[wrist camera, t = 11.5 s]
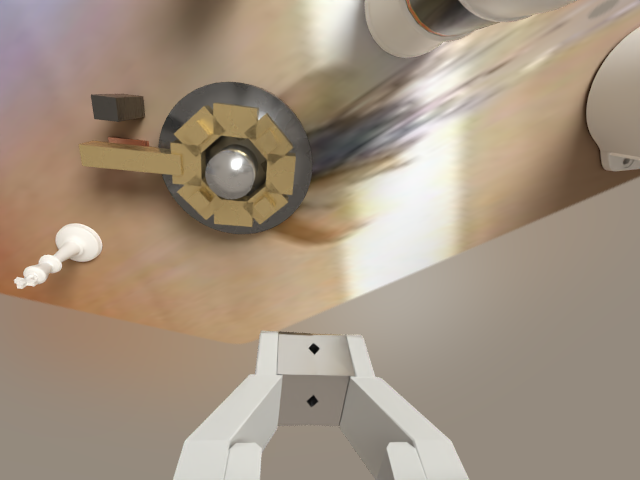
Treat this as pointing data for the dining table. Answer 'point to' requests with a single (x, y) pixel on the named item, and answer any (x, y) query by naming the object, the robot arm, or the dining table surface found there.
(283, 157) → the gold ring with handle
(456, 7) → the vodka
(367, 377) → the robot arm
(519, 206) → the dining table surface
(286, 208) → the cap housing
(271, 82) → the dining table surface
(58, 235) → the chess piece
